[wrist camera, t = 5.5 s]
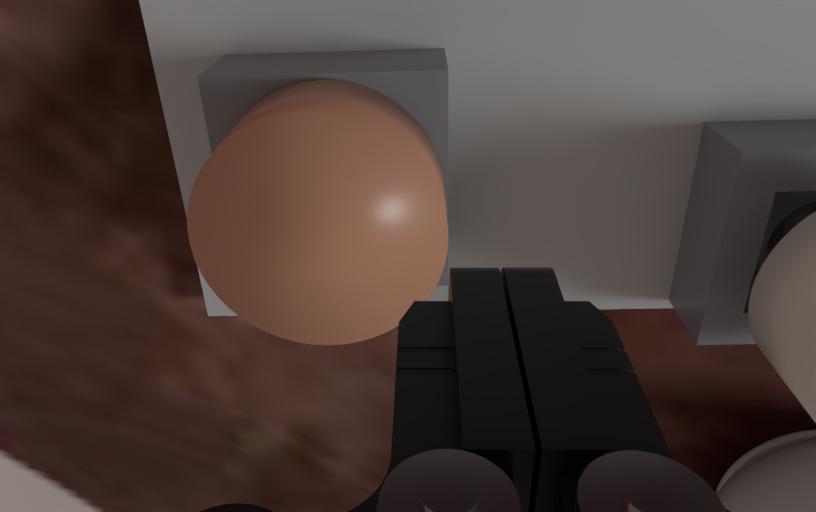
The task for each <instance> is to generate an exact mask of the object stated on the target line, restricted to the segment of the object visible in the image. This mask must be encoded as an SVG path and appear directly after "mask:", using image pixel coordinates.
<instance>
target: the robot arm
mask: <svg viewBox="0 0 816 512" xmlns="http://www.w3.org/2000/svg"><path fill="white" fill-rule="evenodd" d="M397 348H398V350H397V364H396V382H395V400H394V418H393V436H392V454H391V461H390V466H389V469H388V472H387V475H386V476H385V478H384V480H383V482H382V483H381V485H380V486H379V487H378V489H377V490H376V491H375V492H374V493H373V494H372V495H371V496H370V497H369V498H368V499H367V500H366V501H364V502H363V503H361V504H360V505H358V506H357V507H355V508H354V509H352V510H350V511H348V512H731V511H729V510H727V509H725V507H724V505H723V504H722V502H721V500H720V499H719V497H718V496H717V494H716V493H715V492H714V490H713V489H712V488H711V487H710V486H709V485H708V484H707V483H706V482H705V481H704V480H703V479H702V478H701V477H700V476H698V475H697V474H696V473H695V472H693V471H692V470H690V469H689V468H687V467H686V466H684V465H682V464H680V463H678V462H676V461H674V460H673V458H672V456H671V454H670V451H669V449H668V447H667V445H666V442H665V440H664V438H663V435H662V433H661V431H660V428H659V426H658V424H657V422H656V419H655V417H654V415H653V412H652V410H651V408H650V406H649V403H648V401H647V399H646V396H645V394H644V392H643V390H642V387H641V385H640V383H639V380H638V378H637V376H636V374H633V367H632V364H631V362H630V360H629V358H628V355H627V353H626V352H624V346H623V344H622V341H621V339H620V337H619V335H618V332H617V330H616V328H615V325H614V323H613V322H612V321H611V320H610V319H609V318H608V317H607V316H605V315H604V314H603V313H602V312H601V311H600V310H599V309H598V308H597V307H595V306H594V305H593V304H592V303H591V302H590V301H564V298H563V295H562V293H561V290H560V287H559V284H558V281H557V278H556V275H555V272H554V270H553V268H551V267H503V268H502V269H501V272H500V270H499V268H450V269H449V293H448V301H414V302H413V304H412V305H411V306H410V308H409V309H408V310H407V312H406V313H405V314H404V316H403V317H402V318H401V320H400V321H399V329H398V347H397ZM200 512H272V511H271V510H268V509H266V508H263V507H261V506H256V505H252V504H240V503H235V504H224V505H220V506H216V507H211V508H209V509H206V510H203V511H200Z"/></svg>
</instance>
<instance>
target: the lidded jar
mask: <svg viewBox="0 0 816 512" xmlns="http://www.w3.org/2000/svg"><path fill="white" fill-rule="evenodd" d="M716 494H717V496H718V497H719V499H720V500H721V502H722V504H723V505H724V507H725V509H727V510H729V511H731V512H816V429H810V430H803V431H797V432H792V433H788V434H785V435H781V436H778V437H776V438H773V439H770V440H768V441H766V442H764V443H762V444H760V445H758V446H756V447H754V448H752V449H751V450H749V451H748V452H746V453H745V454H743V455H742V456H741V457H740V458H739V459H737V460H736V461H735V462H734V463H733V464H732V465H731V466H730V467H729V468H728V469H727V470H726V472H725V473H724V475H723V476H722V478H721V479H720V481H719V484H718V486H717V488H716Z"/></svg>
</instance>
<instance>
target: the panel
mask: <svg viewBox="0 0 816 512" xmlns="http://www.w3.org/2000/svg"><path fill="white" fill-rule="evenodd" d="M139 3H140V7H141V12H142V17H143V21H144V26H145V30H146V35H147V39H148V44H149V48H150V53H151V58H152V62H153V67H154V71H155V76H156V80H157V85H158V90H159V94H160V99H161V103H162V108H163V112H164V117H165V121H166V126H167V131H168V135H169V140H170V144H171V149H172V153H173V158H174V162H175V167H176V172H177V176H178V181H179V185H180V190H181V194H182V199H183V203H184V208H185V213H186V217H187V211H188V204H189V198H190V194H191V191H192V188H193V185H194V182H195V180H196V178H197V176H198V174H199V172H200V170H201V168H202V167H203V165H204V164H205V162H206V161H207V160H208V158H209V157H210V155H211V154H212V153H213V152H214V150H215V149H216V148H217V147H218V145H219V144H220V143H221V142H222V140H223V139H224V138H225V137H226V135H227V134H228V133H229V132H230V130H231V129H232V128H233V127H234V125H235V124H236V123H237V122H238V120H239V119H240V118H241V117H242V116H243V115H244V114H245V113H246V112H247V111H248V110H249V109H250V107H251V106H253V105H254V104H255V103H257V102H258V101H259V100H261V99H262V98H263V97H265V96H267V95H269V94H270V93H272V92H274V91H276V90H278V89H281V88H283V87H286V86H288V85H291V84H296V83H300V82H304V81H312V80H339V81H345V82H351V83H355V84H358V85H362V86H365V87H368V88H371V89H373V90H375V91H377V92H379V93H382V94H384V95H385V96H387V97H389V98H390V99H392V100H393V101H395V102H397V103H398V104H399V105H400V106H402V107H403V108H404V109H405V110H407V111H408V112H409V113H410V114H411V115H412V116H413V117H414V118H415V119H416V120H417V121H418V123H419V124H420V125H421V126H422V128H423V129H424V130H425V132H426V133H427V135H428V136H429V138H430V140H431V142H432V144H433V145H434V147H435V149H436V152H437V155H438V157H439V160H440V163H441V168H442V172H443V178H444V190H445V201H446V212H447V223H448V237H449V238H448V252H447V257H446V261H445V266H444V269H443V271H442V274H441V277H440V279H439V281H438V283H437V285H436V287H435V289H434V290H433V292H432V294H431V295H430V296H429V298H428V299H427V300H426V301H448V293H449V269H450V268H499V270H500V272H501V269H502V268H503V267H551V268H553V270H554V272H555V275H556V278H557V281H558V284H559V287H560V290H561V293H562V295H563V298H564V301H590V302H591V303H592V304H593V305H594V306H595V307H597V308H598V309H649V308H674V309H675V311H676V312H677V314H678V316H679V317H680V319H681V320H682V322H683V324H684V325H685V327H686V328H687V330H688V332H689V333H690V335H691V336H692V338H693V340H694V341H695V343H696V345H726V344H756V342H755V340H754V338H753V336H752V333H751V330H750V326H749V319H748V304H749V299H750V294H751V290H752V287H753V284H754V281H755V278H756V276H757V274H758V272H759V270H760V268H761V266H762V264H763V263H764V261H765V260H766V258H767V245H768V242H769V239H770V237H771V235H772V233H773V231H774V230H775V228H776V227H777V226H778V224H779V223H780V222H781V221H782V220H783V219H784V218H785V217H786V216H788V215H789V214H790V213H791V212H793V211H794V210H796V209H798V208H800V207H801V206H804V205H806V204H808V203H811V202H815V201H816V0H139ZM197 267H198V266H197ZM198 272H199V276H200V281H201V286H202V290H203V295H204V299H205V304H206V308H207V313H208V316H238V315H237V314H236V313H234V312H233V311H232V310H231V309H229V308H228V307H227V306H226V305H225V304H224V303H223V302H222V301H221V300H220V299H219V298H218V297H217V295H216V294H215V293H214V292H213V290H212V289H211V288H210V287H209V285H208V284H207V282H206V281H205V279H204V277H203V276H202V274H201V272H200V270H199V268H198Z"/></svg>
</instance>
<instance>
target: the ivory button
mask: <svg viewBox="0 0 816 512" xmlns="http://www.w3.org/2000/svg"><path fill="white" fill-rule="evenodd" d="M748 319H749V326H750V330H751V333H752V336H753V338H754V340H755V342H756V344H757V346H758V347H759V349H760V350H761V351H762V353H763V354H764V355H765V357H766V358H767V359H768V361H769V362H770V363H771V365H772V366H773V367H774V369H775V370H776V371H777V373H778V374H779V375H780V377H781V378H782V379H783V381H784V382H785V383H786V385H787V386H788V387H789V389H790V390H791V391H792V392H793V394H794V395H795V396H796V398H797V399H798V400H799V402H800V403H801V404H802V406H803V407H804V408H805V410H806V411H807V412H808V414H809V415H810V416H811V418H812V419H813V420H814V421H815V423H816V201H815V202H811V203H808V204H806V205H804V206H801V207H800V208H798V209H796V210H794V211H793V212H791V213H790V214H789V215H788V216H786V217H785V218H784V219H783V220H782V221H781V222H780V223H779V224H778V226H777V227H776V228H775V230H774V231H773V233H772V235H771V237H770V239H769V242H768V245H767V258H766V260H765V261H764V263H763V264H762V266H761V268H760V270H759V272H758V274H757V276H756V278H755V281H754V284H753V287H752V290H751V294H750V299H749V304H748Z"/></svg>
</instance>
